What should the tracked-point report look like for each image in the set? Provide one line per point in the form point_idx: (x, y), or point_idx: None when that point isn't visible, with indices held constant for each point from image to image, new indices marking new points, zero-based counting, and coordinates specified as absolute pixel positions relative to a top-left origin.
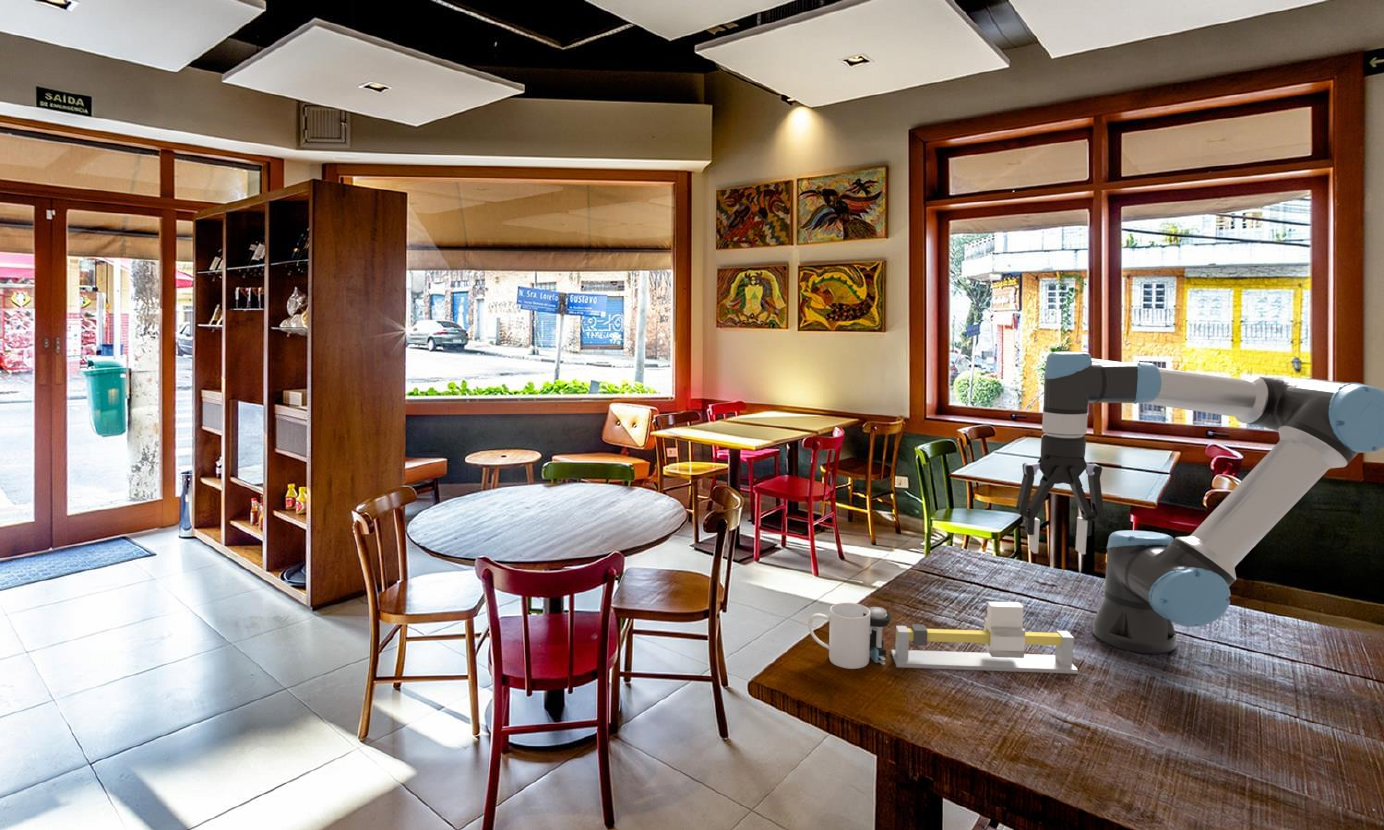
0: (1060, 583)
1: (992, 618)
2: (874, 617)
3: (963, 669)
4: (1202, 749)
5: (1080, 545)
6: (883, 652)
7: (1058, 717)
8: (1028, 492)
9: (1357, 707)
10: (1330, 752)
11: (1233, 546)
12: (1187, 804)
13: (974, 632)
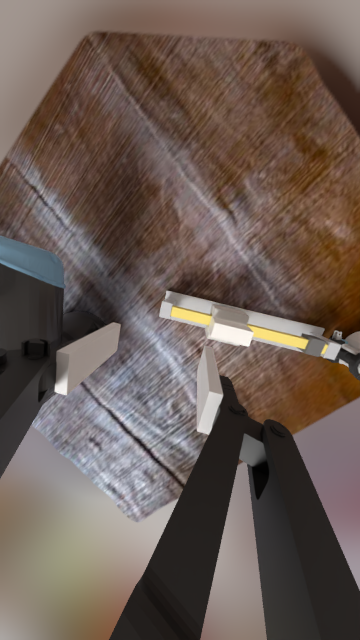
0: (83, 441)
1: (247, 327)
2: None
3: (262, 313)
4: (146, 152)
5: (112, 335)
6: (337, 340)
7: (232, 219)
8: (323, 571)
9: None
10: (50, 137)
11: None
12: (217, 63)
13: (256, 331)
